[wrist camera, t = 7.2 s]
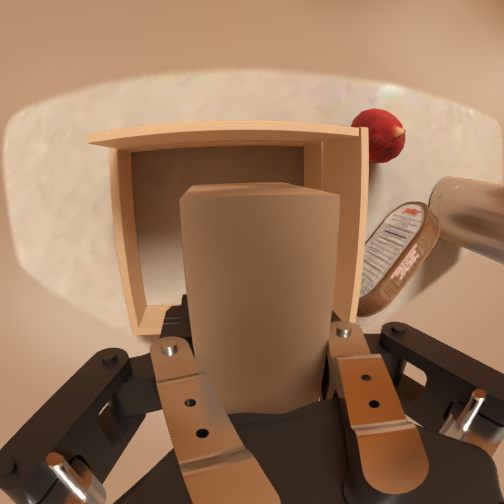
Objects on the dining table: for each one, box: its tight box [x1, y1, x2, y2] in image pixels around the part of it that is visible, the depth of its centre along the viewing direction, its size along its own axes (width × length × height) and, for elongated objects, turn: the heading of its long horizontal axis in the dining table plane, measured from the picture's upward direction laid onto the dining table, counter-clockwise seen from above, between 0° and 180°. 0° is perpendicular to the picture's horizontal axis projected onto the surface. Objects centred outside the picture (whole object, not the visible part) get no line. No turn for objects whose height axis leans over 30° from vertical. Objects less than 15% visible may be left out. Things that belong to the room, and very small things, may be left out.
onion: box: [351, 108, 406, 163], centre depth 26 cm, size 6×6×8 cm
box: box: [179, 182, 340, 414], centre depth 11 cm, size 4×11×6 cm, turn 1°
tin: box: [357, 202, 440, 317], centre depth 30 cm, size 15×3×8 cm, turn 140°
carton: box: [87, 120, 369, 335], centre depth 25 cm, size 20×19×12 cm
